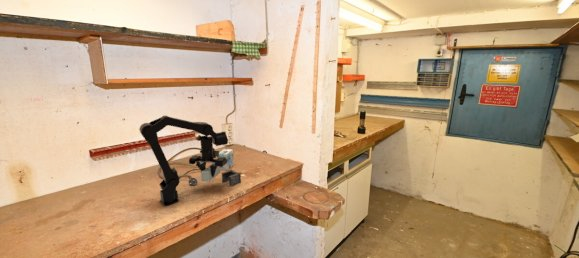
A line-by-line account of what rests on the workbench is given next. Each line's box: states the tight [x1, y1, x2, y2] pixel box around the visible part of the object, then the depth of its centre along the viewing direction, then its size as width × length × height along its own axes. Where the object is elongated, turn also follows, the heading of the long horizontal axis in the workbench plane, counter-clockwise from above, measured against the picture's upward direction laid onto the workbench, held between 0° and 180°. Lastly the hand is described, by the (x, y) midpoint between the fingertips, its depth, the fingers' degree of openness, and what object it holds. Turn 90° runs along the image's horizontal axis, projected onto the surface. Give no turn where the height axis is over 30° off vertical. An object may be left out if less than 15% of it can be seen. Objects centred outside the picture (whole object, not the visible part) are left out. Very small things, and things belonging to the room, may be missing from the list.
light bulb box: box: [216, 148, 235, 171], centre depth 165 cm, size 11×7×11 cm, turn 168°
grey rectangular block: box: [200, 164, 221, 183], centre depth 134 cm, size 12×4×5 cm, turn 167°
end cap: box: [221, 169, 242, 187], centre depth 143 cm, size 6×8×6 cm
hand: (209, 176), depth 132 cm, fingers closed on grey rectangular block, 4 cm apart
